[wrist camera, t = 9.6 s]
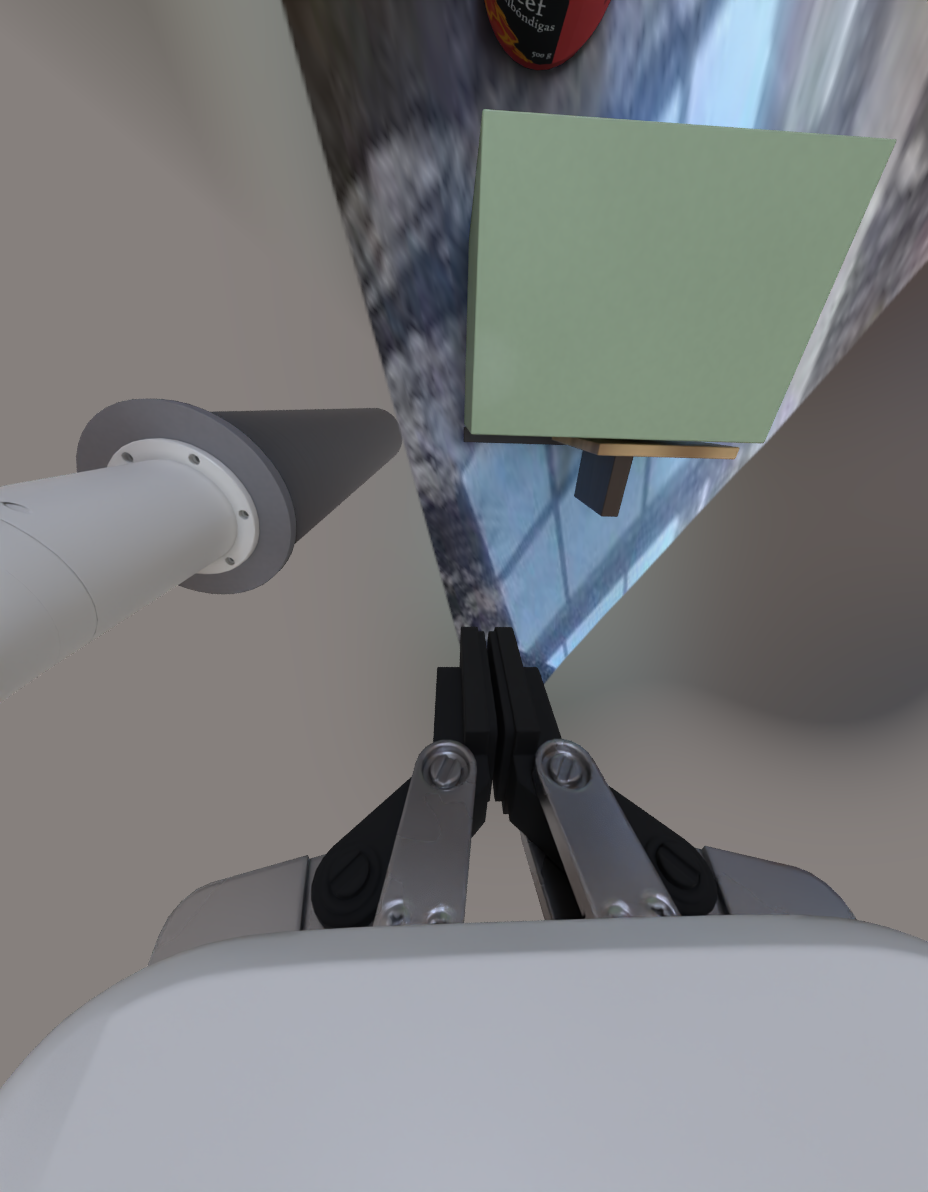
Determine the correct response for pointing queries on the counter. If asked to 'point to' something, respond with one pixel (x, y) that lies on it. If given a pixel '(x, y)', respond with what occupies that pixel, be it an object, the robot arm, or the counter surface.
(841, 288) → the counter surface
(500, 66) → the counter surface
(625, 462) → the sliding door
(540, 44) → the canned food
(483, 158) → the cupboard
